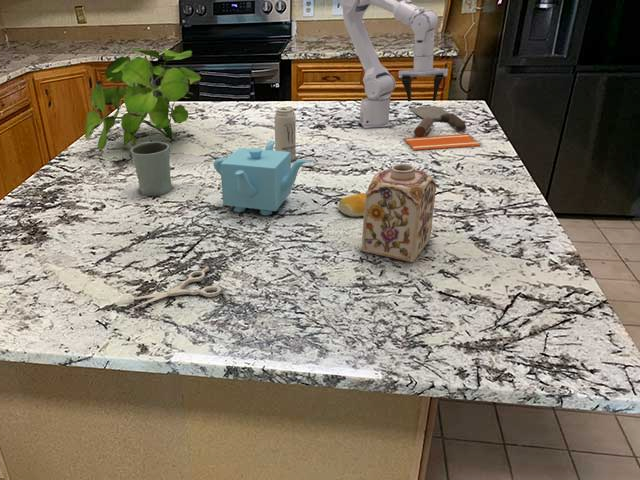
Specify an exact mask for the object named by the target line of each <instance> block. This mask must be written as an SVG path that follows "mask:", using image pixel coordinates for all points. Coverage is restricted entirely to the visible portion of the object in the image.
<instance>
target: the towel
mask: <svg viewBox="0 0 640 480" xmlns="http://www.w3.org/2000/svg"><path fill="white" fill-rule="evenodd" d="M403 140H404V141H405V143H406V144H407V145H409V146H410V148H411V149H412V150H413V151H415V152H416V151H428V150H429V151H430V150H442V149H444V150H445V149H457V148H470V147H471V148H472V147H481V144H480V143H479V142H478V141H476V140H475V139H473V137H471V136H470V135H469V134H467V133H459V134H446V135H445V134H444V135H433V136H423V137H416V136H415V137H405V138H403Z"/></svg>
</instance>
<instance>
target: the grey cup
mask: <svg viewBox="0 0 640 480" xmlns="http://www.w3.org/2000/svg"><path fill="white" fill-rule="evenodd" d="M130 154H131V157H132V161H133V165H134V167H135V173H136V177H137V180H138V186H139V190H140V193H141V194H142V195H145V196H149V197H150V196H151V197H153V196H155V197H156V196H163V195H165V194H168V193H169V192H170V191H172V177H171V164H170V162H171V159H170V158H171V157H170V145H169V144H168V143H166V142H163V141H147V142H142V143H138V144H137V145H136V146H134V147H132V146H131V148H130Z"/></svg>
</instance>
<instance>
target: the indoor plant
mask: <svg viewBox="0 0 640 480" xmlns="http://www.w3.org/2000/svg"><path fill="white" fill-rule="evenodd" d="M131 51H134V52H138V53H141V54H144V55H147V56H150V57H151V58H152V57H153V58H156V59H159V60H162V61H163V66H161V65H154V66H153V64H152V63H151V61H150V60H149V58H147V57H142V56H135V58H132V59H131V57H130V56H124V55H122V56H119V57H118V58H116V59H114V60H113V61H112V62H111V63H109V64H108V66H107V67H106V69H105V71H104V73H103V75H104V76H105V78H106V79H107V80H106V81H107V82H109V81H111V82H112V83H115V82H116V83H118V82H119V83H120V82H122V83H123V84H124V85H122V86H121V87H120V85H118V86H114V87H107V88H103V82H102V80H101V79H100V80H97V82H95V84H94V87H93V90H92V91H91V94H90V97H89V100H90V105H91V107H92V108H93V109H91V110H88V112H87V116H86V121H85V129H84V138H85V140H86V141H87V140H88V139H89V138H90V137H91V136H92V135H93V134H94V131H95V129H98V128H99V127H100V126H101V125H102V124H103V128H102V131H101V134H100V136H99V138H98V142H97V149H98V150H102V151H103V150H104V149H105V148H106V146H107V143H108V133H109V131H110V130H111V129H112V128H113V127H115V123H116V120H119V119H121V129H122V130H123V140H122V141H123V147H124V148H125V149H127V147H128V145H129V143H130V142H131V143H132V144H131V145H132V146H131V148H132V147H134V146H136V145H138V144H137V139H136V135H137V136H138V133H137V132H138V131H139V129H140V128H141V125H142V123H144V124H145V125H148V126H149V127H152V128H153V129H154V130H157V131H158V132H146V131H145V132H140V133H139V135H142V134H149V135H154V134H155V135H160V136H162V137H164V138H167V139H168V140H170V141H174V135H173V131H172V124H171V120H173V123H175V124H182V123H184V122H187V120H188V118H189V111H188V110H187V109H186V108H185V106H184V105H182V104H178V105H177V104H176V105H175V103H176V102H177V101H179V100H180V99H181V98H184V99H190V98H191V96H189V97H187V96H186V95H188V94H189V95H194V93H193V92H189V91H190V89H191V84H193V83H195V82H198V81H200V80H201V78H202V76H200V75H199V74H198V73H197V72H195V71H193V70H191V69H188V68H186V67H182V66H180V67H179V68H177V67H172V68H170V69H166V64H167V62H169V61H178V60H180V61H181V60H183V59H187V58H190V57H192V56H193V54H192V53H193V51H192V50H186V51H183V52H181V53H180V52H176V51H173V50H171V49H170V50H169V49H167V48H162V49H161V52H162V53H164V55H163V56H162V55H161V54H160V53H159V51H156V50H153V49H141V48H132V49H131ZM154 75H156V77H155V78H154V81H153V82H152V80H153V76H154ZM159 79H160V85H154V84H156V82H157V80H159ZM126 87H127V88H126ZM154 91H156V92H158V93H159V92H160V95H157V96H156V94H155V92H154ZM122 99H123V101H122ZM170 102H173V103H172V105H171V111H170V108H169V107H170ZM122 104H124V105H125V110H126V113H122V112H120V109H121V107H122ZM107 106H113V107H114V108H115V109H116V111H115V113H114V114H113V115H110V116H109V115H108V116H106V107H107ZM95 109H96V110H95ZM100 113H102V117H101V115H100ZM119 114H120V115H122V116H118V115H119ZM148 116H149V120H146V118H147V117H148ZM169 116H170V117H169Z"/></svg>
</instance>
